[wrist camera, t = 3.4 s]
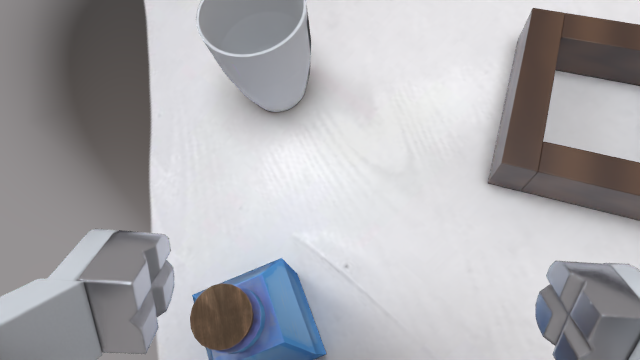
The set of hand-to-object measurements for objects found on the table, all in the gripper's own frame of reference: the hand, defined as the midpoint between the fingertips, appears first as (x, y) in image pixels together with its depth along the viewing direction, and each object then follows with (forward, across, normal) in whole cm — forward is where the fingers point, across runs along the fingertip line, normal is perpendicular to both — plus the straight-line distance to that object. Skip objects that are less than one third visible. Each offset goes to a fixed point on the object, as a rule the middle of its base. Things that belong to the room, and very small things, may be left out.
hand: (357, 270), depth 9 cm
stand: (+27, -21, +6) cm, 35 cm away
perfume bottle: (+16, +4, +20) cm, 25 cm away
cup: (+32, +5, +6) cm, 33 cm away
